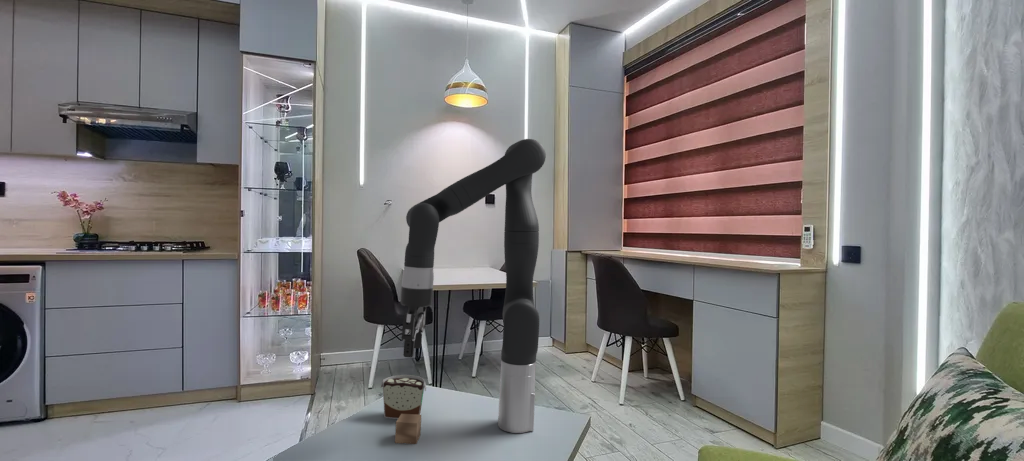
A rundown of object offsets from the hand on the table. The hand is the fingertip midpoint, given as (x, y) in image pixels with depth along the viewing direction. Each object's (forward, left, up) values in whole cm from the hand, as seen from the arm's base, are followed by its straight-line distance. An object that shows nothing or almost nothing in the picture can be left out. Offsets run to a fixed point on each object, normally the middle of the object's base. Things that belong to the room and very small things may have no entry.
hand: (412, 352), depth 109 cm
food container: (+4, -14, -21) cm, 25 cm away
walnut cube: (0, 0, -21) cm, 21 cm away
